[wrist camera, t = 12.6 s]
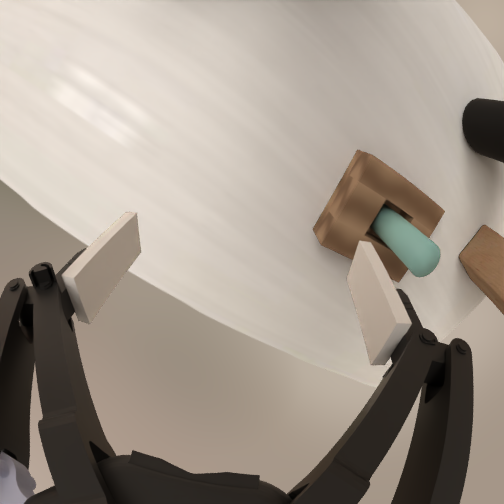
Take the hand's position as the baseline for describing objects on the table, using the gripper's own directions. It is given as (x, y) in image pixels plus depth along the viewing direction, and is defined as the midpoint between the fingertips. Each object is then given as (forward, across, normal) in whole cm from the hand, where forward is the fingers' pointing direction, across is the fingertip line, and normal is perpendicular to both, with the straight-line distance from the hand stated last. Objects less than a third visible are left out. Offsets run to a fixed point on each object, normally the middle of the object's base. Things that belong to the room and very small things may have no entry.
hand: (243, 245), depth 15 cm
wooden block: (+28, +48, -10) cm, 57 cm away
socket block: (+26, +19, -6) cm, 32 cm away
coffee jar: (+29, +38, +15) cm, 50 cm away
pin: (+24, +19, -6) cm, 31 cm away
